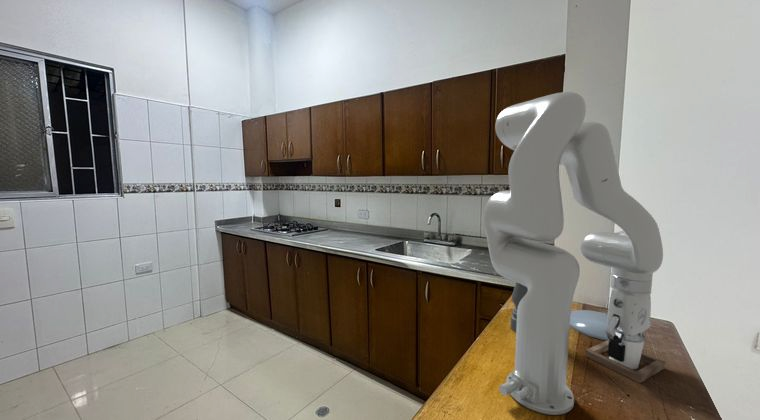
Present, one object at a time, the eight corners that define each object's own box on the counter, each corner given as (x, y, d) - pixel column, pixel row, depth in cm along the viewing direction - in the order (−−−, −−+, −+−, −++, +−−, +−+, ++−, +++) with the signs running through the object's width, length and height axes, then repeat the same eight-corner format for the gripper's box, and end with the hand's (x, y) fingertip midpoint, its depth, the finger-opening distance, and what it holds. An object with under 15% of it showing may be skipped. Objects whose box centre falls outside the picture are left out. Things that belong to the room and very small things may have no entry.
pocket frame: (639, 383, 67) (640, 376, 67) (585, 355, 77) (585, 349, 77) (664, 368, 72) (665, 361, 72) (610, 344, 83) (610, 338, 82)
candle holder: (534, 327, 92) (538, 245, 89) (532, 336, 87) (536, 249, 84) (512, 322, 96) (515, 243, 93) (508, 330, 90) (512, 247, 88)
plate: (618, 349, 80) (618, 345, 80) (552, 320, 96) (553, 317, 96) (652, 332, 88) (652, 329, 88) (586, 308, 104) (587, 306, 104)
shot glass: (649, 372, 71) (651, 343, 70) (615, 368, 72) (617, 340, 72) (631, 355, 78) (633, 329, 77) (600, 352, 79) (602, 326, 78)
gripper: (629, 295, 65) (622, 373, 68) (668, 282, 73) (661, 352, 75) (592, 284, 72) (587, 356, 74) (631, 273, 80) (625, 338, 82)
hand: (624, 353), depth 75 cm, fingers closed on shot glass, 6 cm apart
